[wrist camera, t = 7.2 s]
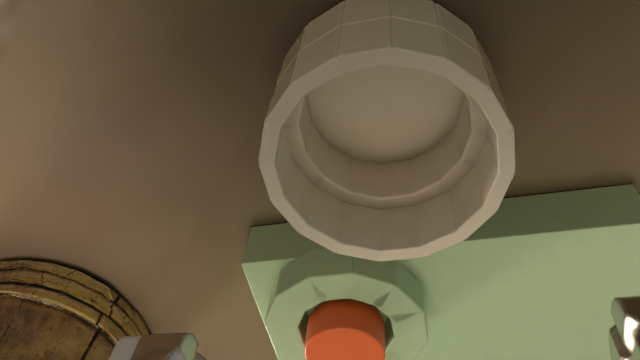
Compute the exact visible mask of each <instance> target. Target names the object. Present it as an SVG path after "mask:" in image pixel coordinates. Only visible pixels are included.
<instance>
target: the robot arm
mask: <svg viewBox="0 0 640 360" xmlns="http://www.w3.org/2000/svg"><path fill="white" fill-rule="evenodd" d="M611 314H612V317H613V319H614V322H615V325H614V326H613V327H611V328H610V329H609V347H610V355H611V360H640V296H629V297H618V298H614V299H613V301H612V306H611ZM198 345H199V343H198V341H197V340H196V338H195V336H194V334H193V333H172V334H153V335H141V336H124V337H122V338H121V339H120V340H119V341H118V342H117V343H116V345H115V347H114V349H113V351H112V353H111V355H110V358H109V360H206V358H205V357H203V356H202V355H200V354H198V353H197V352H196V351H197V348H198Z"/></svg>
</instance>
